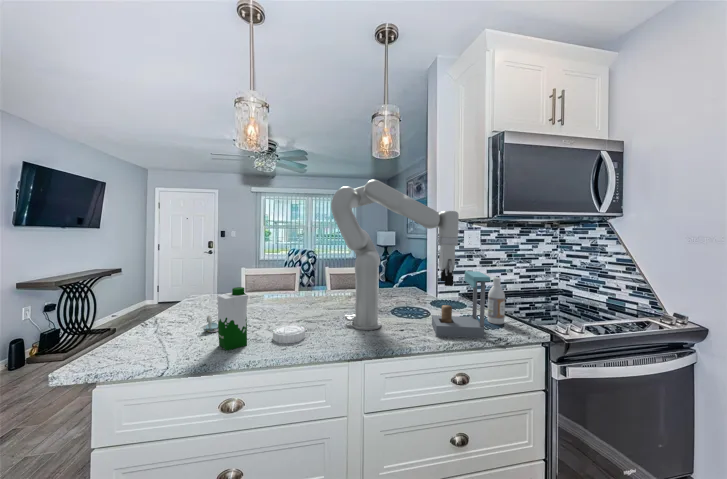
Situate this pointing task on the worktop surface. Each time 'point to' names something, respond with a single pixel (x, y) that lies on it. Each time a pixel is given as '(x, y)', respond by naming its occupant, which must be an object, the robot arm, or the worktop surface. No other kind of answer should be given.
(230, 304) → the milk carton
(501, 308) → the bath foam
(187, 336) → the worktop surface
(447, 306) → the peg
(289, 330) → the mooncake
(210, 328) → the pacifier
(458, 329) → the socket block
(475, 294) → the teal-topped post gate
